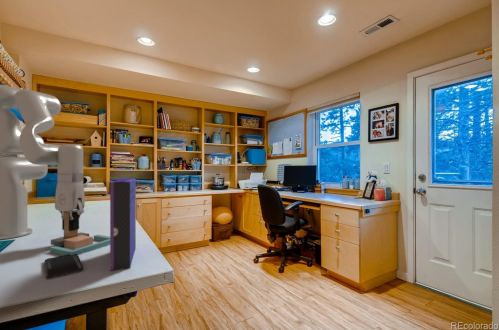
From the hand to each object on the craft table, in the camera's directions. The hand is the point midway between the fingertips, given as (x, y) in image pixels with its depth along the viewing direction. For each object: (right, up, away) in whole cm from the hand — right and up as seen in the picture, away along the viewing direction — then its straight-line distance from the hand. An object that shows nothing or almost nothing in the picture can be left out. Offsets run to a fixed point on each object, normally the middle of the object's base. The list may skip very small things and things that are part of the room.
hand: (70, 229), depth 87 cm
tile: (+5, -5, -3) cm, 8 cm away
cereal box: (+26, -5, -13) cm, 30 cm away
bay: (+7, -5, -3) cm, 9 cm away
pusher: (0, -4, 0) cm, 4 cm away
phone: (+12, -6, -19) cm, 24 cm away
